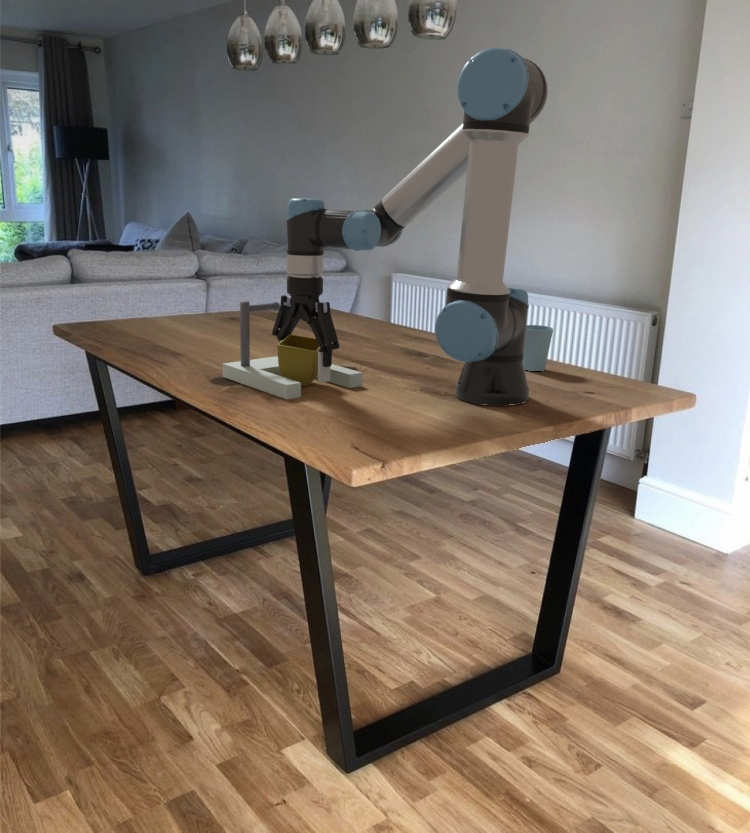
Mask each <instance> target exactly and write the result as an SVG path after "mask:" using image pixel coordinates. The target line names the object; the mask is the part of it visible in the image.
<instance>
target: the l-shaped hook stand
mask: <svg viewBox="0 0 750 833" xmlns="http://www.w3.org/2000/svg"><path fill="white" fill-rule="evenodd" d="M280 305H281V303H280V302H278V301H272V303H271V302H270V303H258V304H257V303H256V304H250V301H247V300H241V301H239V321H240V322H239V323H240V324H239V325H240V326H239V327H240V328H239V329H240V330H239V332H240V336H239V337H240V342H239V343H240V360H238V361H233V362H226V363H222V378H225V379H228V380H231V381H233V382H236V383H238V384H242V385H245V386H247V387H250V388H253V389H256V390H259V391H262V392H265V393H267V394H270V395H272V396H276V397H279V398H281V399H284V400H292V399H297V398H302V385H301V383H300V382H297V381H294V380H291V379H288V378H285V377H282V375H281V373H280V370H279V365H278V355H277V356H276V355H275V356H269V357H268V356H267V357H262V358H255V359H251V341H250V340H251V339H250V338H251V337H250V334H251V331H250V328H251V324H250V312H260V311H271V310H272V311H275V312H276V311H279V308H280ZM315 379H318V375H317V376H316V378H315ZM327 382H328V383H330V384H334V385H338V386H340V387H343V388H347V389H352V388H353V389H354V388H360V387H363V372H361V371H357V370H354V369H351V368H347V367H345V366H341V365H336V364H333V363H332V365H331V366H330V381H327Z"/></svg>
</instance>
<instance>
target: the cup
mask: <svg viewBox="0 0 750 833" xmlns="http://www.w3.org/2000/svg"><path fill="white" fill-rule="evenodd" d="M553 332H554V327H551V326H546V325H539V324H526V334H525V346H524V356H523V366H524V370H528V371H527V372H529V371H543V372H545V371H546V366H547V361H548V358H549V357H548V356H549V351H550V346H551V342H552V337H553ZM544 370H545V371H544Z"/></svg>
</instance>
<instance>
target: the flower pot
mask: <svg viewBox="0 0 750 833" xmlns="http://www.w3.org/2000/svg"><path fill="white" fill-rule="evenodd" d="M276 345H277V346H276V348H277V356H278V365H279V370H280V373H281V375H282V377H285V378H288V379H291V380H294V381H297V382H300V383H301V387H302V386H303V387H308V386H310V384H311V383H313V381H314V380H315V379H317V378H316V376H317V375H318V351H319V350H320V349H321V348H320V346H319V344H318V342H317V340H316V337H309V336H303V335H299V334H293V333H291V334H290V335H288V336H287V337H286V338H285V339H284V340H282V341H281V342H280V343H279V342H278V343H277V344H276ZM325 345H326V344H325Z"/></svg>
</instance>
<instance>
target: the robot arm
mask: <svg viewBox="0 0 750 833" xmlns="http://www.w3.org/2000/svg"><path fill="white" fill-rule="evenodd" d="M456 87H457V88H456V89H457V91H456V93H457V97H458V100H459V104H460V106H461V108H462V109H463V120H462V124H461V125H459V127H457V128H456V129H455V130H453V131H452V133H451V134H450V135H449V136H448V137H447V138H445V140H443V141H442V142H441V143H440V144H439V145H438V146H437V147H436V148H435V149H434V150H433V151H431V153H430V154H428V155H427V157H425V158H424V159H423V160H422V161H421V162H420V163H419V164H418V165H417V166H416V167H415V168H414V169H412V170H411V172H409V173H408V174H407V175H406V176H405V177H404V178H402V179H401V181H400V182H398V183H397V184H396V185H395V186H394V187H393V188H392V189H391V190H390V191H388V193H387V194H386V195H385V196H384V197H382V198H381V200H380V201H379V202H377V204H375V205H374V206H373V207H371V209H363V210H359V209H358V210H356V209H355V210H352V209H351V210H350V209H349V210H344V209H343V210H341V209H327V208H326V206H325V201H324V200H323V199H322V198H307V197H306V198H302V197H300V198H298V197H297V198H291V199H289V201H288V202H287V214H286V221H285V222H286V230H287V234H286V237H287V239H286V240H287V242H286V243H287V246H286V247H287V248H286V249H287V250H286V251H287V252H286V273H287V274H288V276H287V277H286V293H287V294H283V295H281V296H280V308H279V310H278V313H277V316H276V318H275V322H274V325H273V328H272V331H271V334H272V336H273V337H276V338H277V340H278V343H280V342H281V341H282V340H284V339H285V338H286V337H287V336H288V335H290V334H293V332H294V330H295V329H296V327H297V325H298V323H300V322H299V321H300V320H301V321H303V322H306V325H309V327H310V329H311V331H312V333H313V335H314V338H316V340H317V342H318V344H319V346H320V348H321V349H320V350H319V351H318V378H317V383H326V382H327V381H330V366H331V365H332V364H333V362H332V361H333V360H332V358H333V351H335V350H338V349H340V342H339V339H338V336H337V332H336V329H335V325H334V321H333V318H332V314H331V304H330V302H329V301H326V302H324V301H323V302H321V301H320V296H321V295H323V293H324V278H323V276H321V275H323V273H324V251H325V249H324V248H327V249H329V248H331V249H340V250H352V251H355V252H358V251H371V250H373V249H375V248H377V247H388V246H390V245H392V244H395V243H396V242H397V241H398V240H399V239H400V238H401V236H402V234H403V229H405V228H406V227H407V226H408V225H410V223H411V222H412V221H414V220H415V219H416V218H417V217H418V216H419V215H421V213H423V212H424V211H425V210H426V209H428V208H429V207H430V206H431V205H432V204H433V203H434V202H435V201H436V200H437V199H439V198H440V197H441V196H442V195H443V194H444V193H445V192H446V191H447V190H449V189H450V188H451V187H452V186H453V185H454V184H455V183H457V182H458V181H459V180H460V179H461V178H462V177H463V176H464V175H465V174H466V178H465V188H464V198H463V207H462V208H463V209H462V218H461V228H460V229H461V230H460V239H459V240H460V241H459V249H458V250H459V251H458V261H457V268H456V269H457V270H456V277H455V278H454V279H453V280H452V281H451V282H450V283H448V285H447V287H446V288H447V290H446V296H445V297H446V298H445V305H444V307H443V308H442V309H441V310H440V311H439V314H438V315H437V317H436V320H435V324H434V332H435V338H436V341H437V343H438V344H439V346H440V348H441V349H442V350H443V352H444V353H445V354H446V355H447V356H449V357H450V358H451V359H453V360H454V361H455V360H456V361H458V362H461V363H464V365H463V368H462V370H461V373H460V376H459V378H458V381H457V382H456V385H455V396H456V398H457V399H459V400H461V401H463V402H465V403H466V402H467V403H471V404H474V403H477V404H476V405H480V404H487V405H486V406H489V405H509V404H518V403H522V402H525V401H527V400H528V401H529V396H530V387H529V385H528V381H527V376H526V371H525V370H524V366H523V356H524V346H525V334H526V325H527V321H528V313H529V312H528V311H529V308H530V307H529V306H530V305H529V304H530V303H529V293H528V292H527V291H526V290H525V289H520V288H514V287H513V288H512V287H508V286H507V285H506V284H505V283H504V274H505V267H506V266H505V264H506V256H507V248H508V239H509V231H510V230H509V229H510V220H511V212H512V203H513V193H514V186H515V180H516V178H515V176H516V169H517V162H518V161H517V160H518V154H519V146H520V144H521V143H522V142H523V141H525V140H526V138H528V137H529V134H530V133H529V132H530V126H531V124H532V123H533V122H534V121H535V120H536V118H538V117H539V115H540V114H541V112H542V111H543V109H544V107H545V104H546V102H547V99H548V92H549V90H548V81H547V79H546V75H545V74H544V71H543V70H542V69H541V67H539V66H538V65H537V64H536V63H535V62H534V61H532V60H529V59H528V58H525V57H523V56H521V55H520V54H519V53H518V52H517V51H514V50H512V49H508V48H502V47H490V48H489V47H488V48H486V49H483V50H481V51H479V52H477V53H475V54H474V55H473V56H472V57H471V58H470V59H468V61H467V62H466V63H465V64H464V65H463V67H462V70H461V71H460V75H459V76H458V81H457V86H456ZM325 344H326V345H325ZM528 401H527V402H528Z"/></svg>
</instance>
